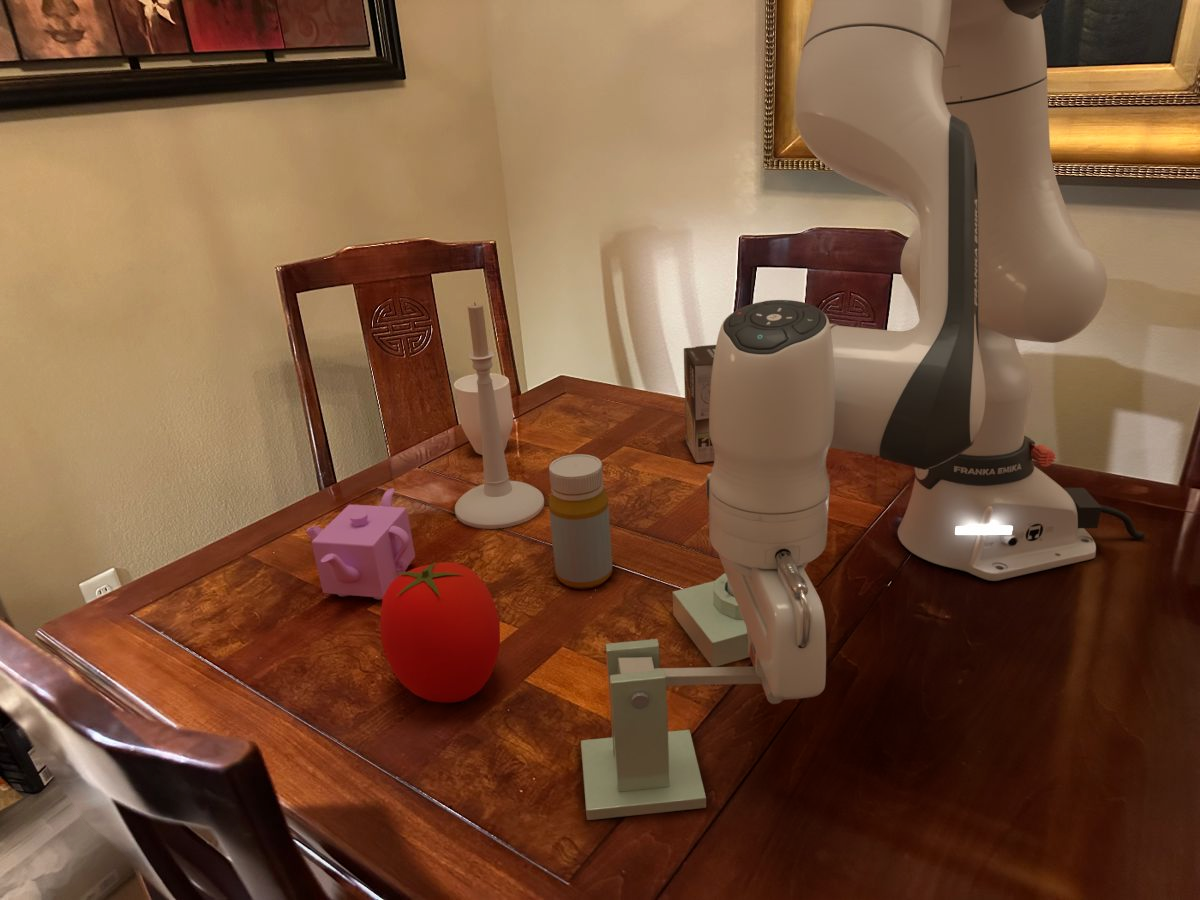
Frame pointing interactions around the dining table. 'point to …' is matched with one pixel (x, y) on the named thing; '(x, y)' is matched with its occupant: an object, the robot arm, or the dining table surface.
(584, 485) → the bottle
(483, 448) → the candlestick
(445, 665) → the tomato
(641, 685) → the lever bracket
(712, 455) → the coffee box
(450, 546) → the dining table surface
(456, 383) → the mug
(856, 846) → the dining table surface
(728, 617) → the push button base
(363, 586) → the teapot
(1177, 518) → the dining table surface
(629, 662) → the flush lever
